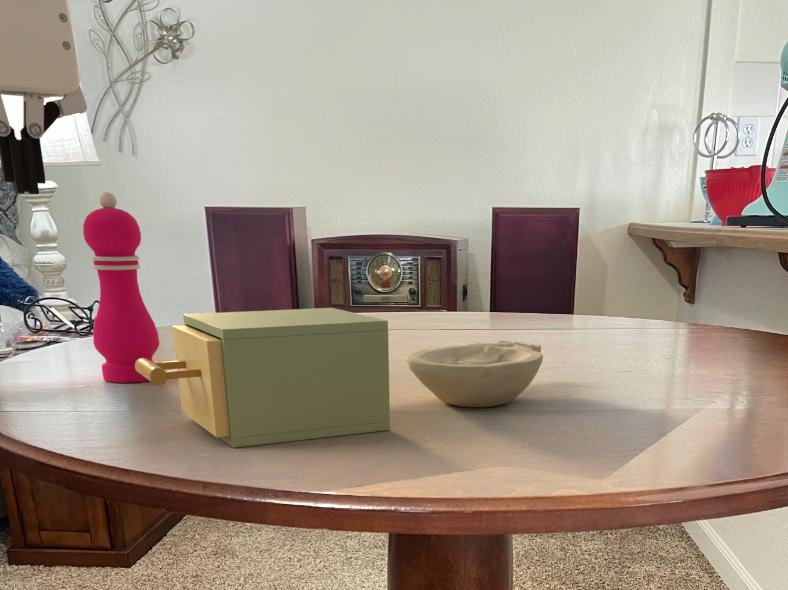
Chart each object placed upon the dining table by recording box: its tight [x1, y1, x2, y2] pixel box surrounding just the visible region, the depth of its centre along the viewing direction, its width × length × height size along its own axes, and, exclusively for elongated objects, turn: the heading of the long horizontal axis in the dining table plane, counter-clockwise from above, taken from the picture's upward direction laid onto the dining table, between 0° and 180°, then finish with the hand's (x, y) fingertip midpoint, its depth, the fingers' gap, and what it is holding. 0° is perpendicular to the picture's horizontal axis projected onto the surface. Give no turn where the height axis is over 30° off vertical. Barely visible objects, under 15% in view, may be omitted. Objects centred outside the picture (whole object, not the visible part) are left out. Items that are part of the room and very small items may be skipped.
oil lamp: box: [405, 340, 544, 408], centre depth 96 cm, size 21×14×5 cm
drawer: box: [135, 324, 230, 438], centre depth 79 cm, size 18×11×8 cm, turn 119°
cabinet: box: [182, 307, 391, 449], centre depth 81 cm, size 15×13×10 cm
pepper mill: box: [82, 191, 160, 384], centre depth 101 cm, size 7×7×20 cm
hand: (26, 193), depth 72 cm, fingers closed
